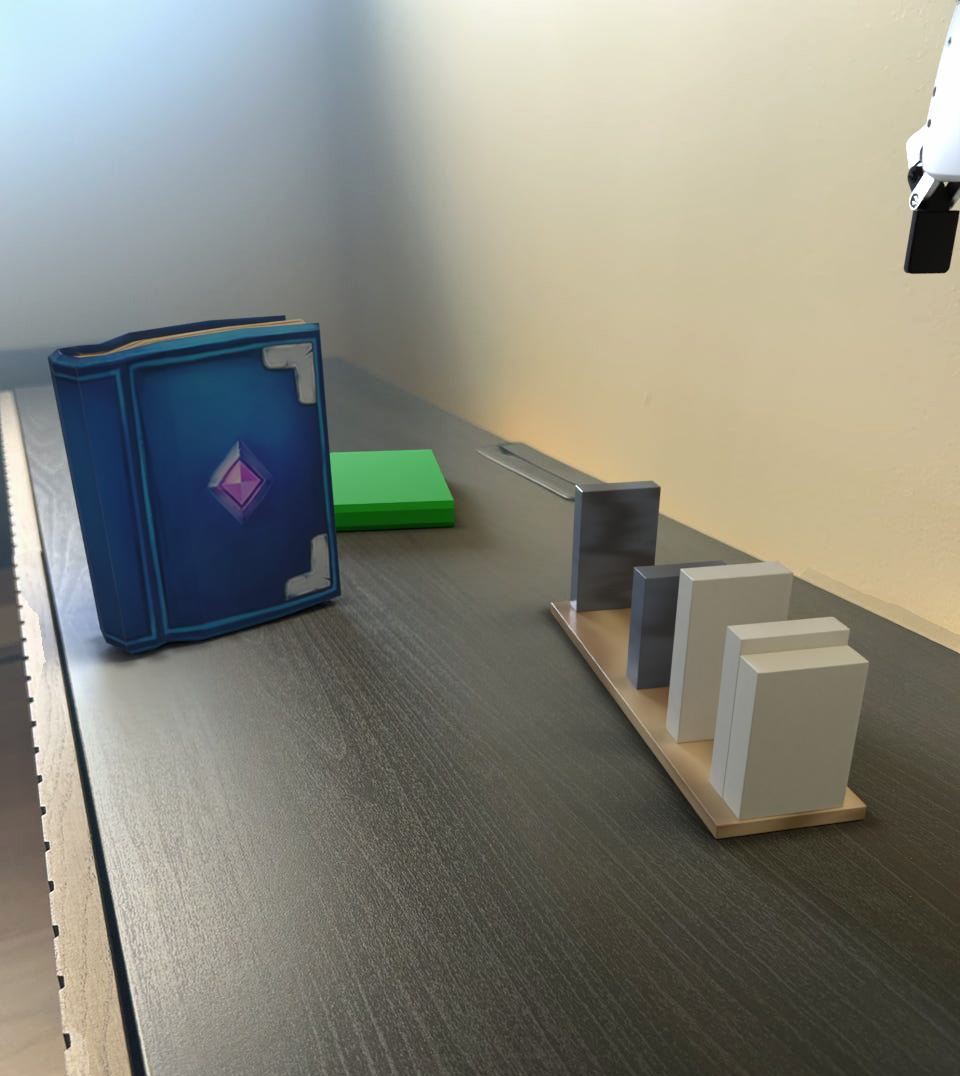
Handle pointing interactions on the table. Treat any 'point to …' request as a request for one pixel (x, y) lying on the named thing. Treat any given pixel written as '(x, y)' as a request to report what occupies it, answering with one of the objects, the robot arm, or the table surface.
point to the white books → (786, 717)
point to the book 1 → (200, 476)
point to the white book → (716, 635)
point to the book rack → (648, 642)
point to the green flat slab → (389, 490)
